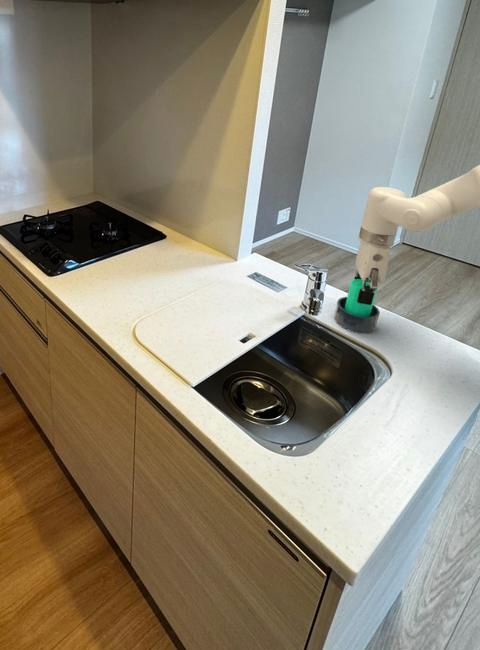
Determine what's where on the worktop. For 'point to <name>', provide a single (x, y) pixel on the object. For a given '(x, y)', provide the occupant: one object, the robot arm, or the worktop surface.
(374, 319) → the bowl
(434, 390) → the worktop surface
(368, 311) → the candle
